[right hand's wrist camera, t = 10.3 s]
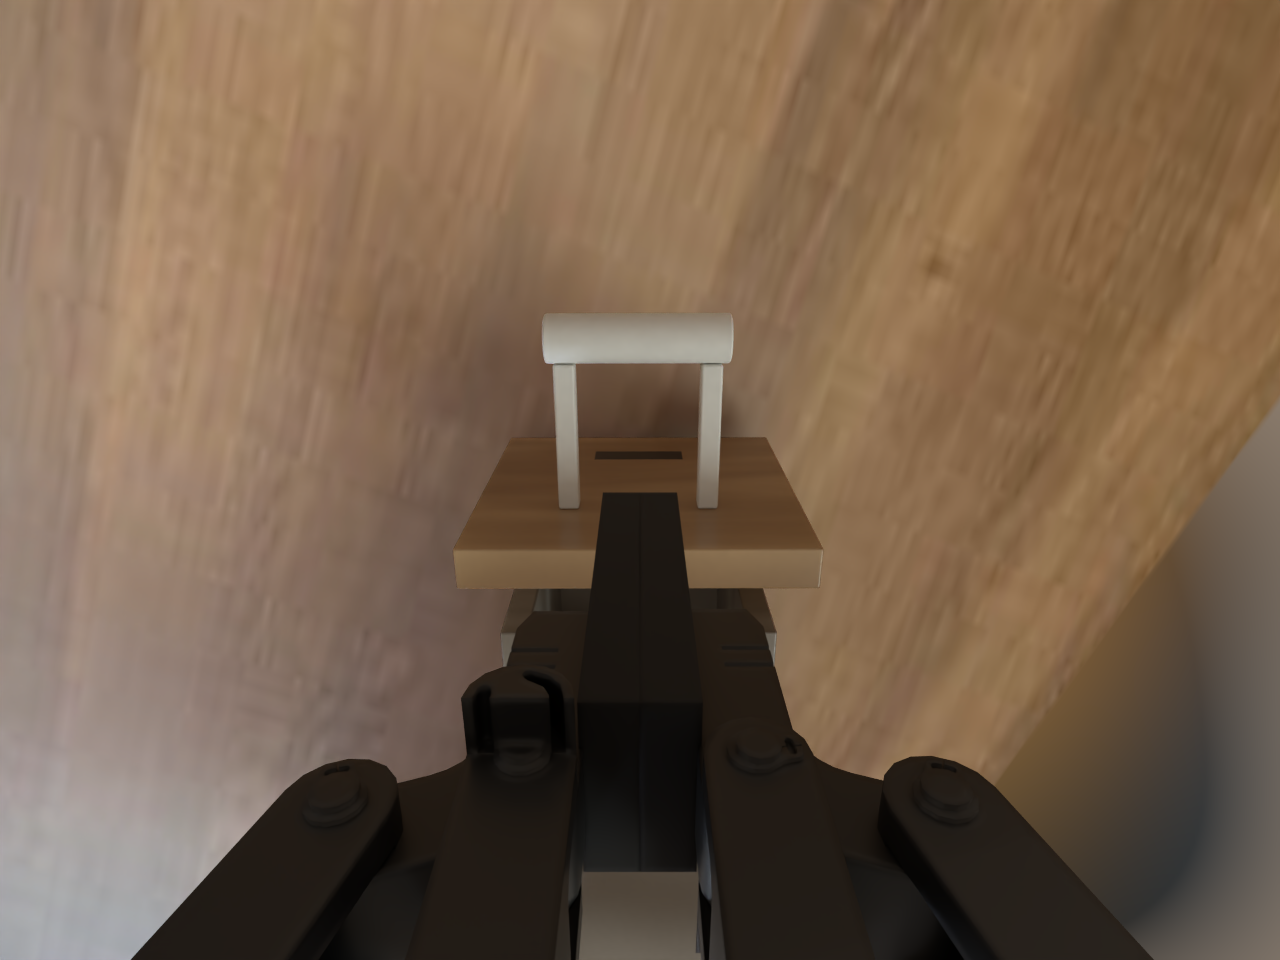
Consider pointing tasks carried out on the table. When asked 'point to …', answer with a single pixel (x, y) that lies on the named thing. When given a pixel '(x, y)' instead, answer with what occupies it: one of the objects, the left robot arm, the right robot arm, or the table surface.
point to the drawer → (637, 485)
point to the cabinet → (639, 916)
